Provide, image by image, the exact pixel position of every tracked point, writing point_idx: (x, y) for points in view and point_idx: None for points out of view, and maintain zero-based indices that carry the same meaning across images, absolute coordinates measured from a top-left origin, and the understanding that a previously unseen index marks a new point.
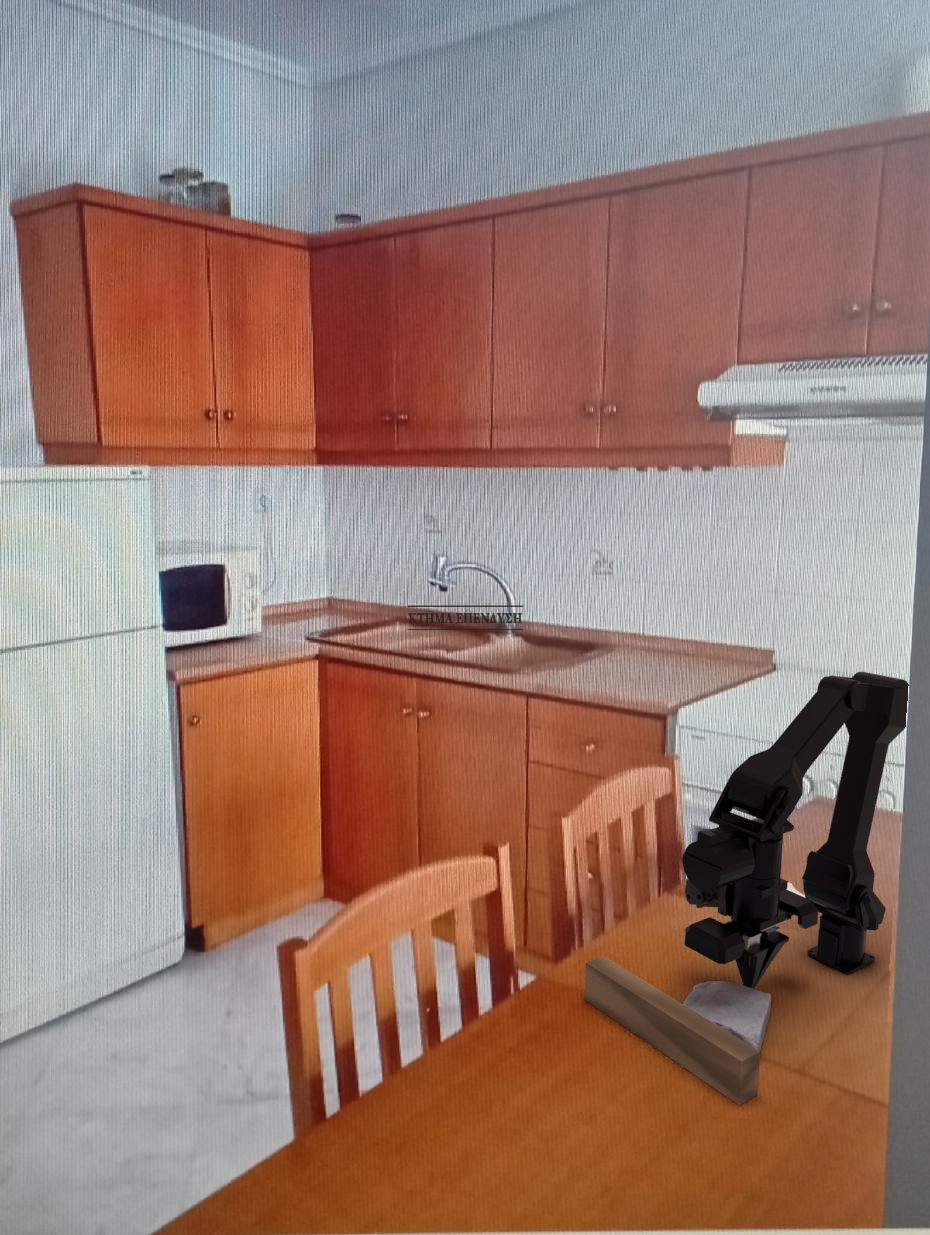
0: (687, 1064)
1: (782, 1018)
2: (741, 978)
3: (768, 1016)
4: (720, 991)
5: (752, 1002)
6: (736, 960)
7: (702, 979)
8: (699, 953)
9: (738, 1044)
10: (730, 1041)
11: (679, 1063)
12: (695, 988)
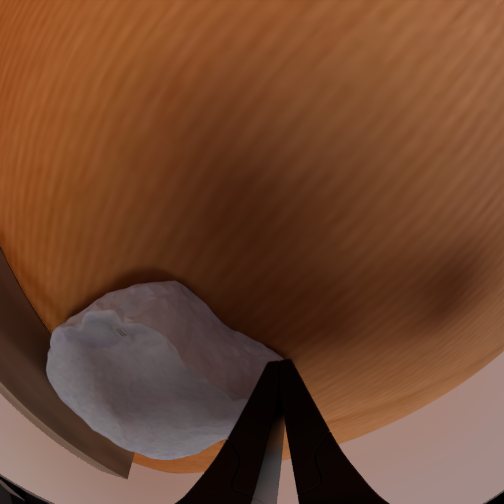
0: None
1: (305, 383)
2: (256, 385)
3: None
4: (145, 385)
5: (205, 433)
6: (220, 454)
7: (225, 153)
8: (25, 489)
9: (103, 468)
10: (94, 463)
11: None
12: (88, 321)
